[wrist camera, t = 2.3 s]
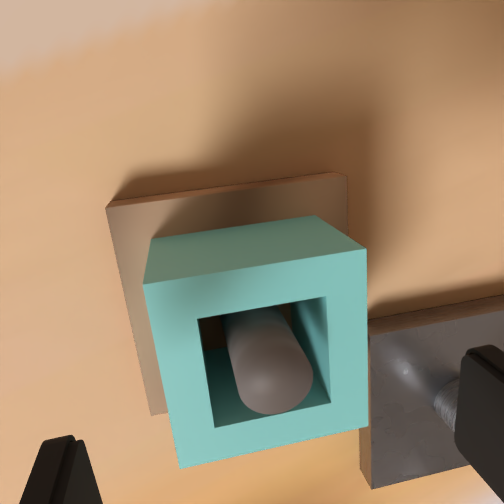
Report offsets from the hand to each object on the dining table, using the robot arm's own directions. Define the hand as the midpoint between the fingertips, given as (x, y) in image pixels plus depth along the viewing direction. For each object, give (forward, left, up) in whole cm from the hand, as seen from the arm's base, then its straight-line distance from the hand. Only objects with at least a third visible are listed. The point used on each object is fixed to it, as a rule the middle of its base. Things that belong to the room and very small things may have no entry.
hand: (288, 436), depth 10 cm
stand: (0, 0, -10) cm, 10 cm away
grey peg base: (-11, +9, -10) cm, 17 cm away
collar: (0, 0, -9) cm, 9 cm away
